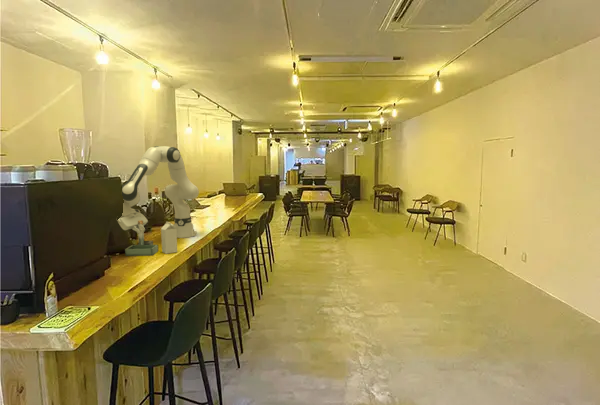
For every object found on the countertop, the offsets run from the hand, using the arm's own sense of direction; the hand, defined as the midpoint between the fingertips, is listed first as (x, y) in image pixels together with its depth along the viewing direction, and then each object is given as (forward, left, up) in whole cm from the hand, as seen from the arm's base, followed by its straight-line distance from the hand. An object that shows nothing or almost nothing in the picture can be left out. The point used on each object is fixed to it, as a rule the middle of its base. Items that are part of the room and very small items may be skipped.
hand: (141, 231), depth 226 cm
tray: (0, -1, -14) cm, 14 cm away
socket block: (-10, -2, -14) cm, 17 cm away
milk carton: (-3, +15, -14) cm, 21 cm away
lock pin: (0, -1, -8) cm, 8 cm away
